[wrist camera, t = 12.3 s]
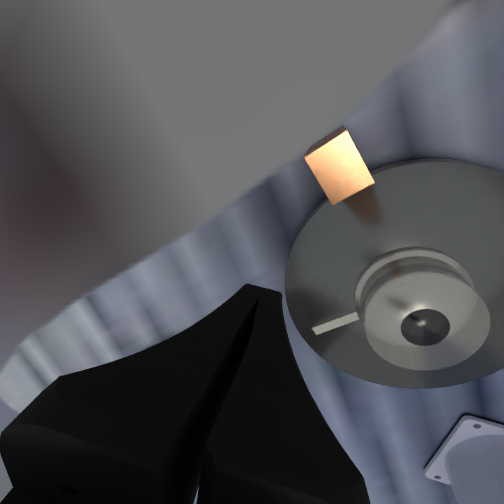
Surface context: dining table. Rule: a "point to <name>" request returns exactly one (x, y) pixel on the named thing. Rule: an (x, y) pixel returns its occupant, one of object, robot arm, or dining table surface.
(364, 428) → the dining table surface
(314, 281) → the turntable
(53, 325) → the dining table surface
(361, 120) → the dining table surface
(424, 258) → the cover
